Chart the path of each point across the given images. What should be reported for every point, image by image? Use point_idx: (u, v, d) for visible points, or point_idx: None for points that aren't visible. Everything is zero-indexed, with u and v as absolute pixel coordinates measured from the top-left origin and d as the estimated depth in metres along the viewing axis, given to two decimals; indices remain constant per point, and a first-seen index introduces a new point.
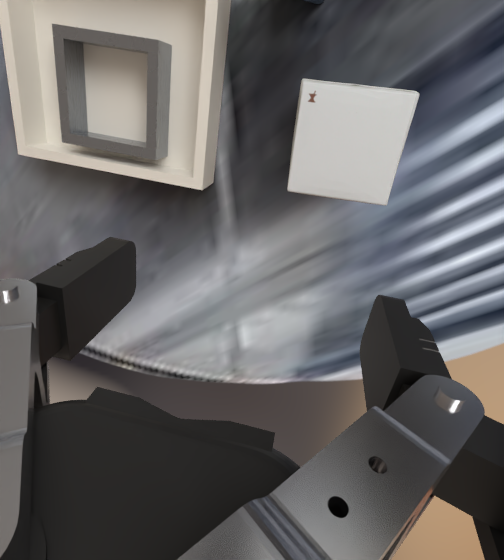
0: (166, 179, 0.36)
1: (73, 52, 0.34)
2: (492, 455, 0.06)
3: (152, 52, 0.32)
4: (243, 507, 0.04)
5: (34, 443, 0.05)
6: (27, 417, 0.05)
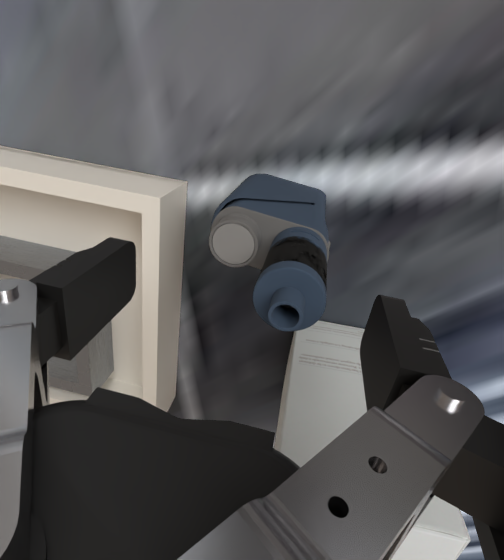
0: None
1: None
2: (492, 455, 0.06)
3: None
4: (243, 507, 0.04)
5: (34, 443, 0.05)
6: (27, 417, 0.05)
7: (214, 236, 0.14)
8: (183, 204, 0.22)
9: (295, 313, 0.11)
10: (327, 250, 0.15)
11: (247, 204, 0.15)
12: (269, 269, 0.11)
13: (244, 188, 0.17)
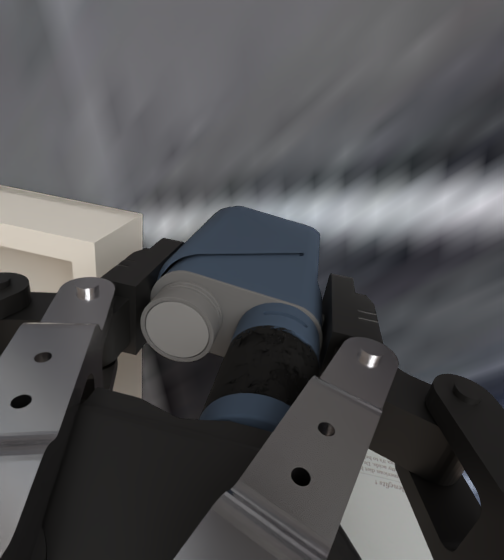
0: None
1: None
2: (402, 403, 0.07)
3: None
4: (243, 507, 0.04)
5: (68, 448, 0.05)
6: (62, 422, 0.05)
7: (148, 318, 0.09)
8: (137, 242, 0.17)
9: None
10: (320, 337, 0.10)
11: (202, 264, 0.10)
12: (216, 410, 0.06)
13: (204, 234, 0.12)
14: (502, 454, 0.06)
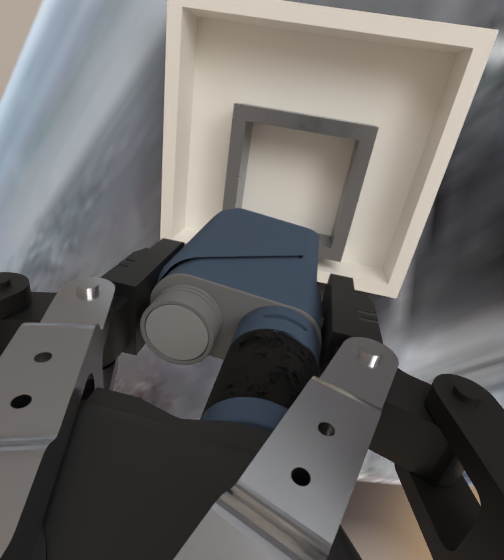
0: None
1: (247, 133, 0.27)
2: (402, 403, 0.07)
3: (366, 141, 0.25)
4: (243, 507, 0.04)
5: (68, 448, 0.05)
6: (62, 422, 0.05)
7: (148, 321, 0.09)
8: None
9: None
10: (319, 340, 0.10)
11: (202, 267, 0.10)
12: (215, 414, 0.06)
13: (204, 237, 0.12)
14: (502, 454, 0.06)
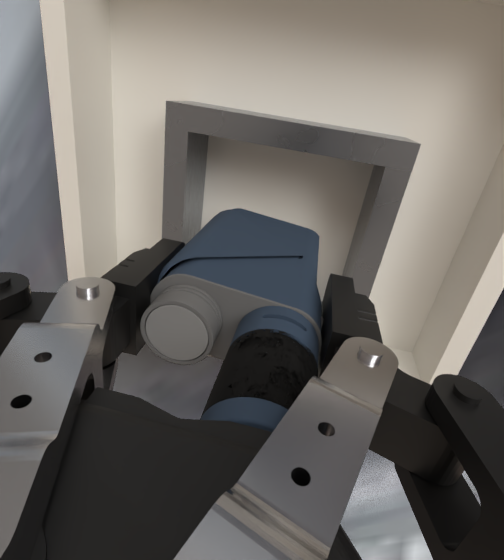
0: None
1: (196, 150, 0.16)
2: (402, 403, 0.07)
3: (397, 168, 0.14)
4: (243, 507, 0.04)
5: (67, 448, 0.05)
6: (62, 422, 0.05)
7: (148, 322, 0.09)
8: None
9: None
10: (319, 340, 0.10)
11: (202, 268, 0.10)
12: (215, 414, 0.06)
13: (204, 237, 0.12)
14: (502, 454, 0.06)
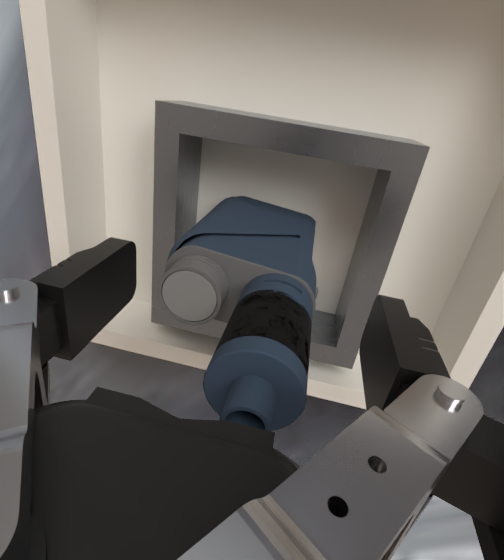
0: None
1: (189, 153, 0.15)
2: (491, 454, 0.07)
3: (404, 173, 0.13)
4: (243, 507, 0.04)
5: (34, 443, 0.05)
6: (27, 417, 0.05)
7: (164, 286, 0.11)
8: None
9: None
10: (313, 303, 0.11)
11: (211, 242, 0.12)
12: (225, 349, 0.08)
13: (211, 218, 0.13)
14: None
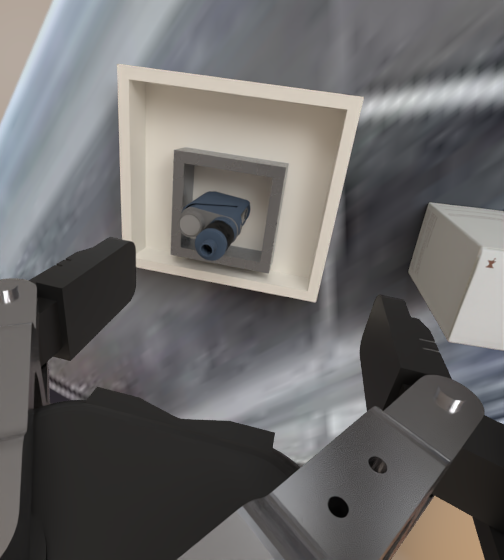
0: (278, 291, 0.35)
1: (188, 171, 0.34)
2: (492, 455, 0.06)
3: (277, 178, 0.31)
4: (243, 507, 0.04)
5: (34, 443, 0.05)
6: (27, 417, 0.05)
7: (180, 221, 0.29)
8: None
9: None
10: (236, 227, 0.29)
11: (197, 206, 0.30)
12: (201, 231, 0.26)
13: (198, 198, 0.32)
14: None
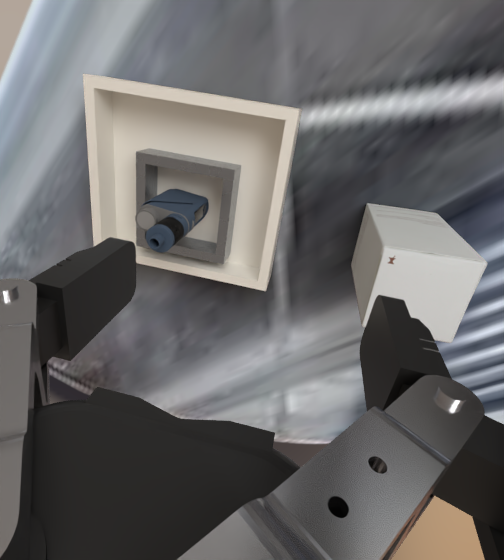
0: (232, 280, 0.39)
1: (151, 170, 0.37)
2: (492, 455, 0.06)
3: (228, 179, 0.35)
4: (243, 507, 0.04)
5: (34, 443, 0.05)
6: (27, 417, 0.05)
7: (137, 217, 0.33)
8: None
9: None
10: (187, 223, 0.33)
11: (154, 203, 0.34)
12: (151, 227, 0.30)
13: (157, 196, 0.35)
14: None
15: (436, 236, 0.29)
